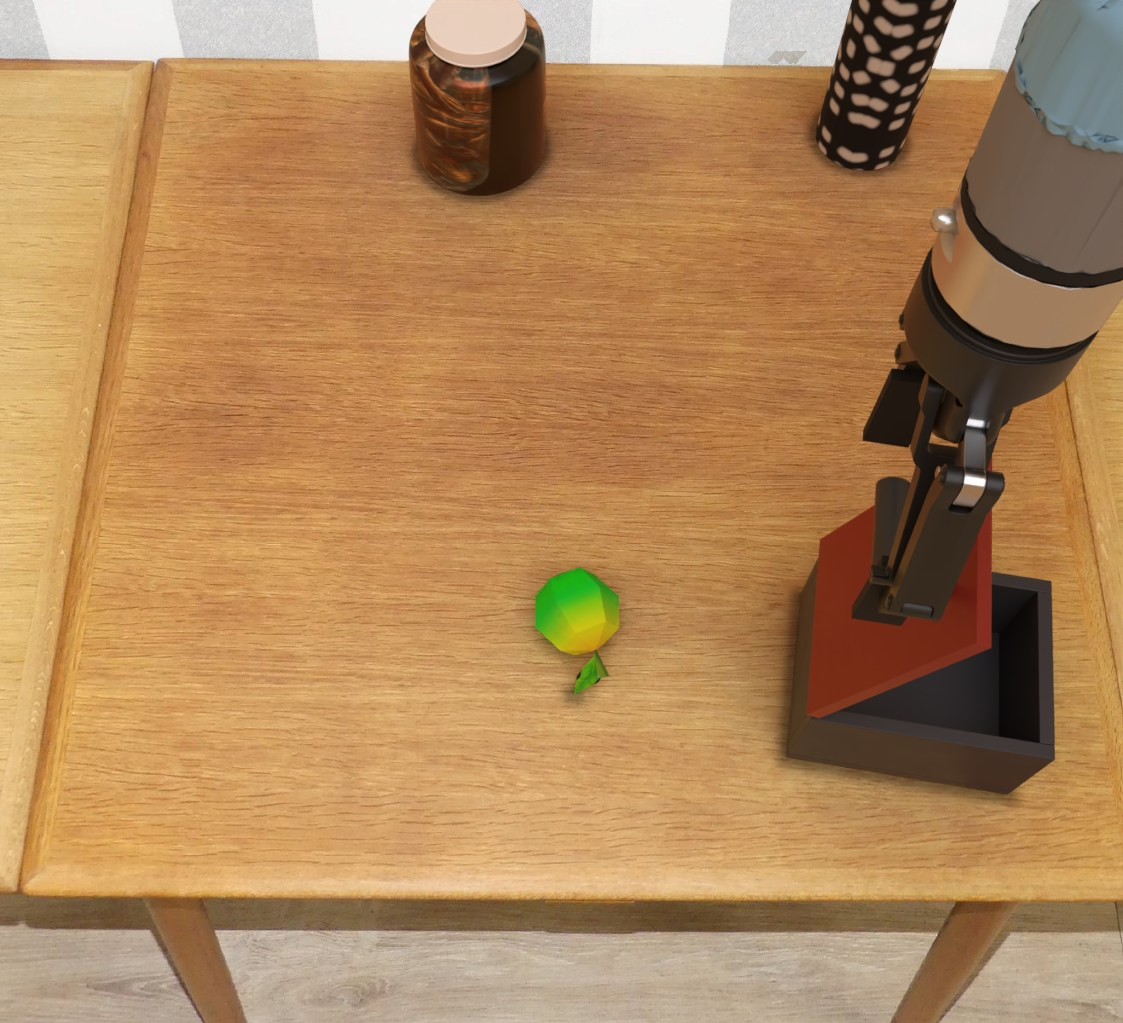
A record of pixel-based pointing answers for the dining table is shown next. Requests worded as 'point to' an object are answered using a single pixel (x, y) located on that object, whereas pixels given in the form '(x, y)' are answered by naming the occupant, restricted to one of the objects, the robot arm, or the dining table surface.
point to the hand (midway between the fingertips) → (881, 524)
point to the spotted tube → (879, 79)
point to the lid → (876, 648)
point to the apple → (578, 618)
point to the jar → (479, 94)
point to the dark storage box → (946, 704)
